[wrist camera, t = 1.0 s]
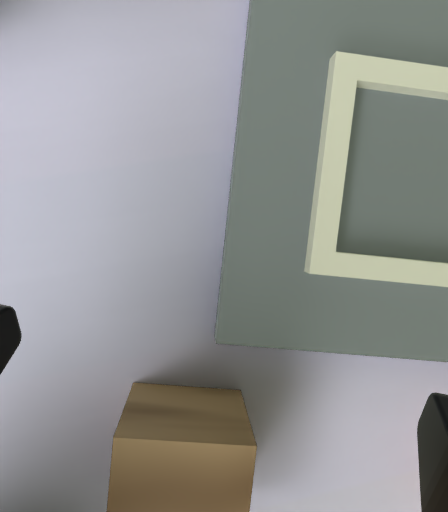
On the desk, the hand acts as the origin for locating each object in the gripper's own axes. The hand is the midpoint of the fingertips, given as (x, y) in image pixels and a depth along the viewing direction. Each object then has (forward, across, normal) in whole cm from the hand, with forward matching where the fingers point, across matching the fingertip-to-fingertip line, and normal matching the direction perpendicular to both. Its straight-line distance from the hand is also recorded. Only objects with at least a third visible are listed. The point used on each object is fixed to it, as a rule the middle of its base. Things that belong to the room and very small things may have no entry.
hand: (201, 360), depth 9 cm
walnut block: (+6, +2, +11) cm, 13 cm away
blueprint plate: (+14, -6, 0) cm, 15 cm away
